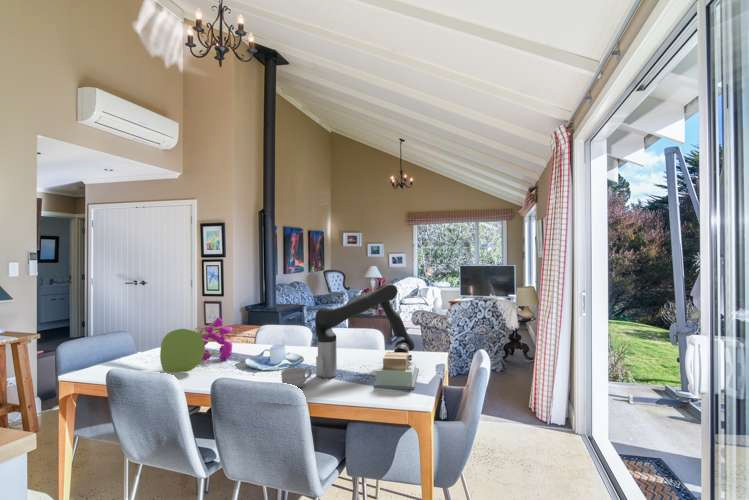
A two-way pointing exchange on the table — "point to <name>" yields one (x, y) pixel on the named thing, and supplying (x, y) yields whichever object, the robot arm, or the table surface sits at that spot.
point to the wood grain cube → (395, 361)
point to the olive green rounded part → (192, 347)
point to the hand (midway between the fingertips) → (397, 361)
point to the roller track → (396, 378)
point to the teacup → (295, 376)
